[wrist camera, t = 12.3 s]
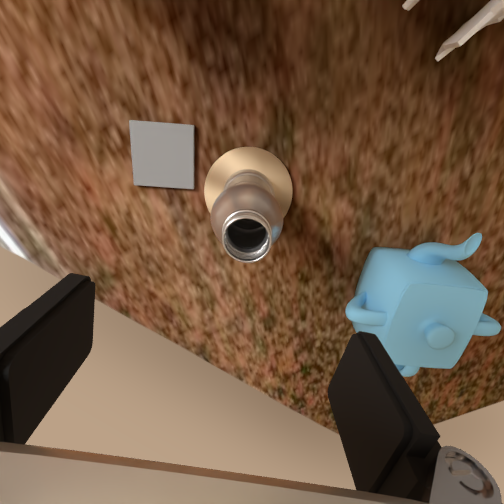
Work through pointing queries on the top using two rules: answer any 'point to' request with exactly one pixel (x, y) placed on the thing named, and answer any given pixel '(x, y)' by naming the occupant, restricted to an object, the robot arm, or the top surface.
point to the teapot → (421, 304)
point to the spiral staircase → (468, 25)
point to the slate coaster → (163, 154)
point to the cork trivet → (254, 161)
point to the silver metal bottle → (247, 216)
